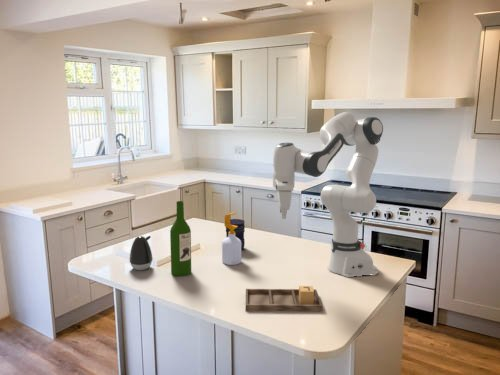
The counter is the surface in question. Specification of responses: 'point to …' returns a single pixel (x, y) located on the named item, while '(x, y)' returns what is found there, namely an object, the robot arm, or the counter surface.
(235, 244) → the soap bottle
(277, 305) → the organiser
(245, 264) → the counter surface
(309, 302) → the letter cube
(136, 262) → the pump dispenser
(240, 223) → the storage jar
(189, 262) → the wine bottle
